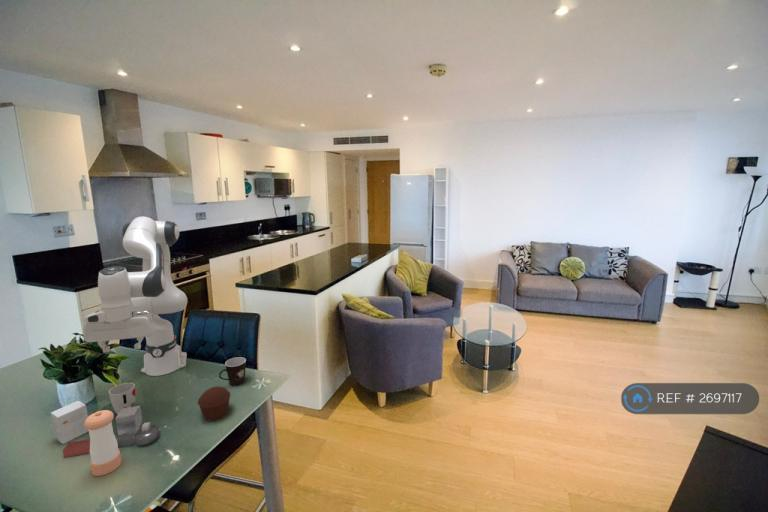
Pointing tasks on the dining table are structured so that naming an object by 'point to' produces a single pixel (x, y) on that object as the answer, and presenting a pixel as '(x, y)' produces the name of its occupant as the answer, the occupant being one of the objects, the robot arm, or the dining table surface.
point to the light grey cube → (129, 420)
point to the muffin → (214, 403)
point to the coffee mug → (235, 371)
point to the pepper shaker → (102, 443)
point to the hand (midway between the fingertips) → (122, 350)
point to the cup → (122, 396)
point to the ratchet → (118, 440)
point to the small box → (69, 421)
